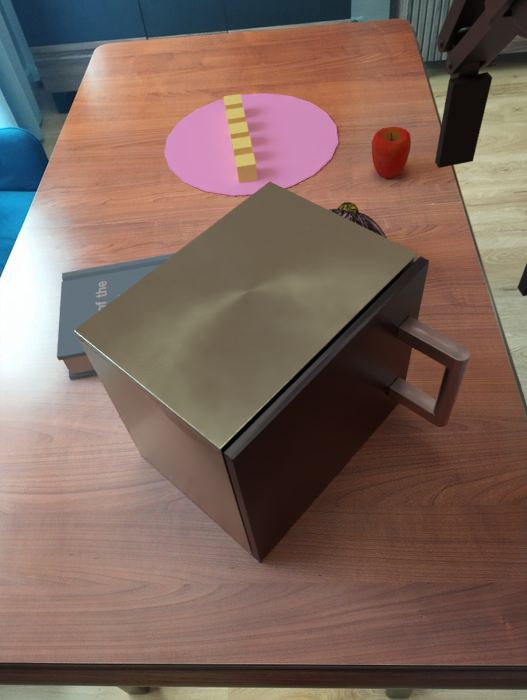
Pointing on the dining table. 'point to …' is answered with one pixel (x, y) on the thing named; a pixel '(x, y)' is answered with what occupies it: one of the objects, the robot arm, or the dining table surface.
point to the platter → (251, 143)
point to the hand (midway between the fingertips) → (492, 218)
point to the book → (93, 304)
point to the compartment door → (339, 410)
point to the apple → (390, 151)
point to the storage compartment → (233, 333)
